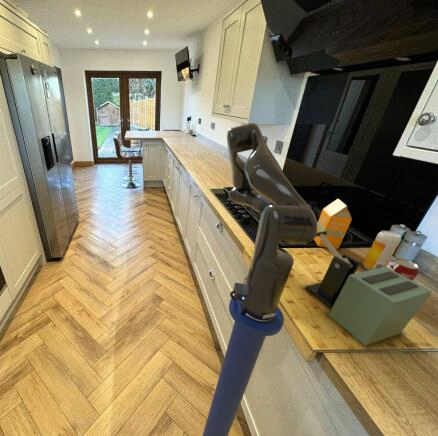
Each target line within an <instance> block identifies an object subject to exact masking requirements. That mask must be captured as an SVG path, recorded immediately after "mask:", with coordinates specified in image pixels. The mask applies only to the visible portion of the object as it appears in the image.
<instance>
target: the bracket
mask: <svg viewBox="0 0 438 436" xmlns="http://www.w3.org/2000/svg"><path fill="white" fill-rule="evenodd" d="M341 257H342V258H343V259H344V258H347V259H348V260H349V261H350V262H351V263H352V265H353V267H352V268H350V269H349V267H350V264H349V263H347V262H345V261H344V260H342V259H340V258H338V257H337V256H334V255H333V257H332V259H331V261H330V262H329V265H328V267H327V270H326V272H325V274H324V276H323V278H322V280H321V282H317V283H313V284H309V285H306V286H305V290H306V291H307V292H308V293H310V294H311V296H313V297H315V298H316V299H317V300H319V302H321V303H322V304H324V305H325V306H326V307H327V308H329V309H330V310H331V309H332V308H333V306H334V304H335V302H336V300H337V298H338V296H339V294H340V292H341V290H342V288H343V287H344V285H345V283H346V281H347V279H348V277H349V275H351V274H356V273H357V270H358V269H359V267H360V265H361V263H362V262H360V261H359V260H357V259H355V258H353V257H352V256H349V255H348V254H346V253H344V254H342V255H341Z"/></svg>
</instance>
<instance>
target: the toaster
mask: <svg viewBox="0 0 438 436" xmlns="http://www.w3.org/2000/svg"><path fill="white" fill-rule="evenodd" d="M432 292H433V291H432V290H431V289H429V288H427V287H425V286H423V285H421V284H419V283H418V282H415V281H414V280H413V281H412V280H410V279H408V278H406V277H404V276H402V275H400V274H398V273H396V272H394V271H393V270H391V269H389V268H387V267H381V268H377V269H373V270H365V271H360V272H355V274H351V275H349V277H348V279H347V281H346V283H345V285H344V287H343V288H342V290H341V292H340V294H339V296H338V298H337V300H336V302H335V304H334V306H333V308H332V309H330V312H329V314H328V317H329V318H331V319H332V320H333V321H335V322H336V323H337V324H338V325H340V326H341V327H342V328H343V329H344V330H346V331H347V332H348V333H349V334H350V335H352V336H353V337H354V338H355V339H356V340H358V341H359V342H360V343H361V344H363V345H364V346H365V347H366V346H369V345H371V344H375V343H377V342H380V341H383V340H385V339H389V338H390V337H393V336H396V335H399V334H402V332H403V331H404V330H405V328H406V327H407V326H408V325H409V323H410V322H411V320H412V319H413V318H414V317H415V315H416V314H417V313H418V311H419V310H420V308H421V307H422V306H423V304H424V303H425V302H426V301H427V299H428V298H429V297H430V295H431V293H432Z"/></svg>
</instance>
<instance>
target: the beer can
mask: <svg viewBox="0 0 438 436" xmlns="http://www.w3.org/2000/svg"><path fill="white" fill-rule="evenodd" d="M401 242H402V235H400V234H398V233H396V232H394V231H389V230H381V231H380V232H378V233H377V235H376V237H375V239H374V241H373V242H372V245H371V246H370V248H369V250H368V252H367V253H366V255H365V257H364V258H363V261H362V265H363V267H364V268H365V269H366V270H367V271H369V270H373V269H377V268H381V267H386V266H387V264H388V263H389V262H390V261H391V258H392V257H393V255H394V253H395V252H396V250H397V249H398V247H399V245H400V243H401Z"/></svg>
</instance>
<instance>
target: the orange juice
mask: <svg viewBox="0 0 438 436" xmlns="http://www.w3.org/2000/svg"><path fill="white" fill-rule="evenodd" d="M348 208H349V207H348V205H347V204H345V203H344V202H343V201H342V200H341V199H339V198H337V199H335V200H334V201H332V202H331V203H329V204H328V205H327V206H325V207H323V208H322V211H321V213H320V215H319V218H318V220H317V227H318V229H317V232H324V231H326V232H327V235H324V236H325V237H326V239H327V240H328V241H329V242H330V243H331V245H332V246H333V247H334V248H335V249H336V250H339V248H340V246H341V244H342V242H343V239H344V238H345V236H346V233H347V231H348V229H349V227H350V225H351V223H352V220H353V219H352V215H351V213H350V210H349V209H348ZM313 241H314V242H315V244H316V245H317V246H318V247H321V248H326V249H328V248H327V246H326V245H325V244H324V243H323V242H322V240H321V239H320V238H319V237H318V236H316V237H315V238H314V239H313Z"/></svg>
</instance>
